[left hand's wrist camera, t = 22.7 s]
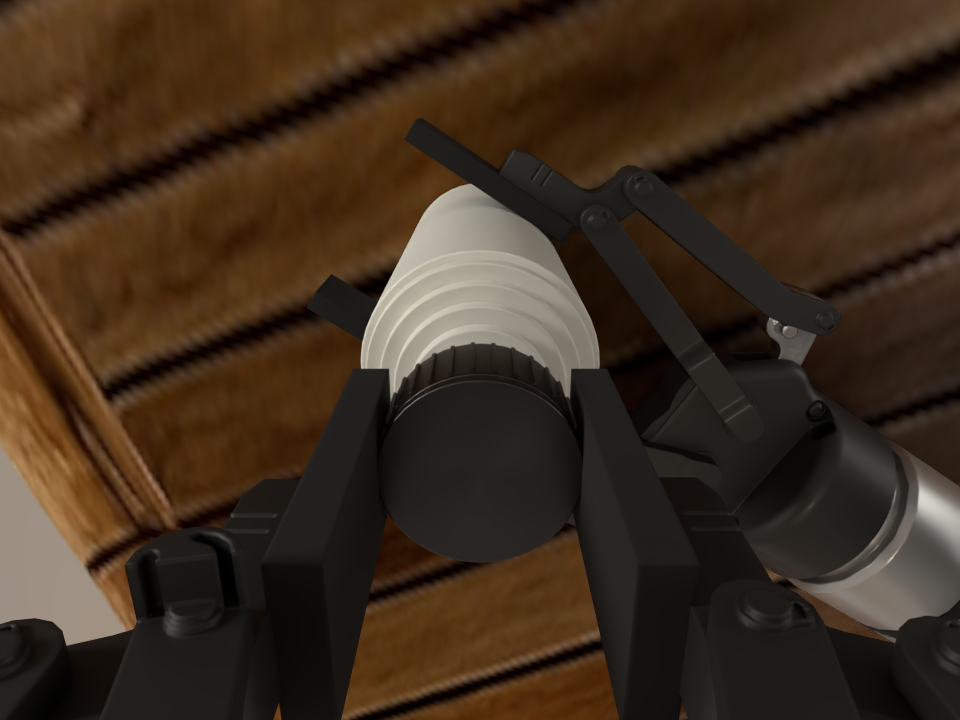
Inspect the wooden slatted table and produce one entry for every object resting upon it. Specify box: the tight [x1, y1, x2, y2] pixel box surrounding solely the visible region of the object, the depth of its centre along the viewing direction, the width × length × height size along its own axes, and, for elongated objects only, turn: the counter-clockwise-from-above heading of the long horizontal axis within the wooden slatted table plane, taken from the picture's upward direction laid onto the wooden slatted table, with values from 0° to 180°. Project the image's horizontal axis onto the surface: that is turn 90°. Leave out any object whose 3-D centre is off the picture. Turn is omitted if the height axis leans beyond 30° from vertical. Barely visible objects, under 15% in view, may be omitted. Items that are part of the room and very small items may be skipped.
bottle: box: [361, 184, 600, 400], centre depth 23 cm, size 6×6×20 cm
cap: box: [377, 342, 583, 562], centre depth 14 cm, size 4×4×2 cm
